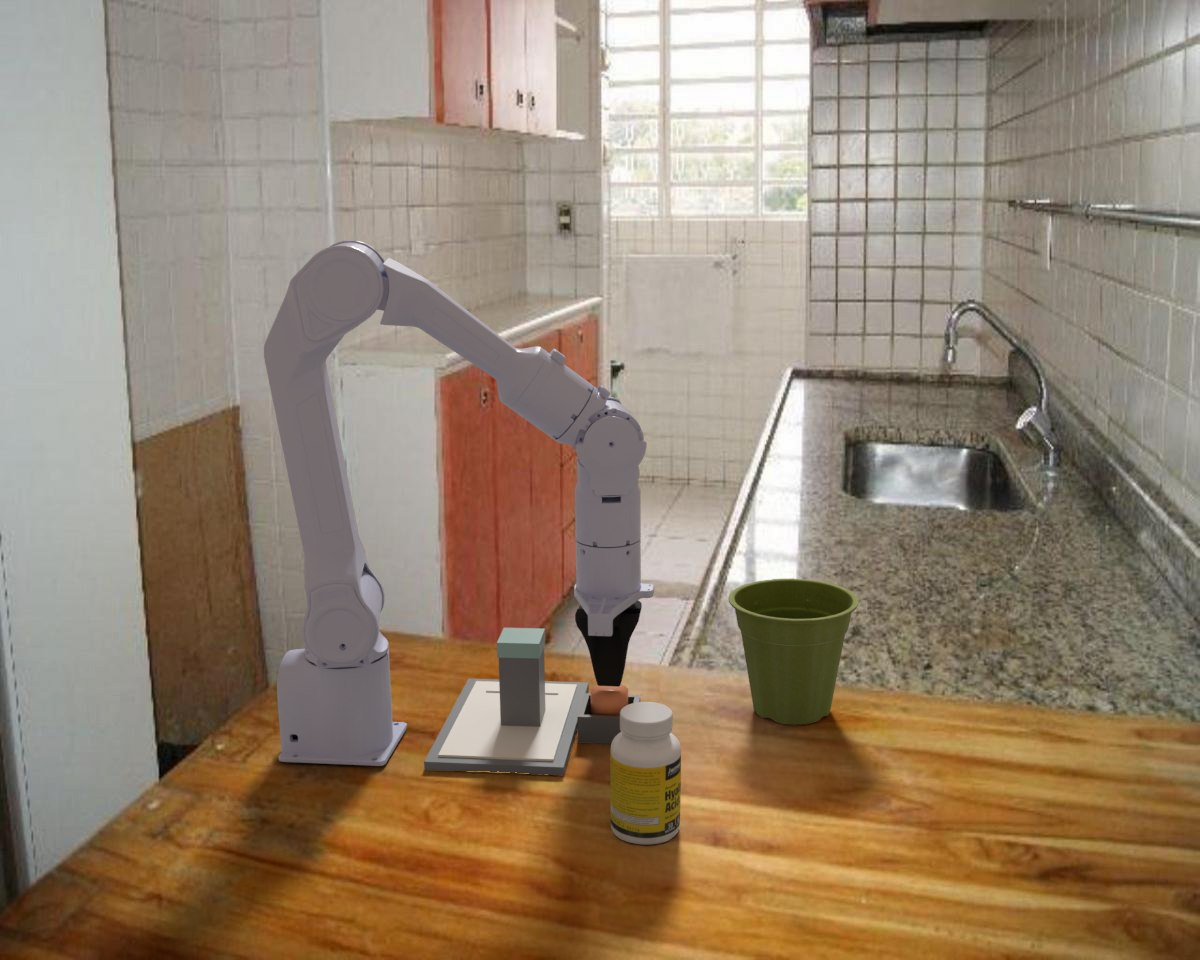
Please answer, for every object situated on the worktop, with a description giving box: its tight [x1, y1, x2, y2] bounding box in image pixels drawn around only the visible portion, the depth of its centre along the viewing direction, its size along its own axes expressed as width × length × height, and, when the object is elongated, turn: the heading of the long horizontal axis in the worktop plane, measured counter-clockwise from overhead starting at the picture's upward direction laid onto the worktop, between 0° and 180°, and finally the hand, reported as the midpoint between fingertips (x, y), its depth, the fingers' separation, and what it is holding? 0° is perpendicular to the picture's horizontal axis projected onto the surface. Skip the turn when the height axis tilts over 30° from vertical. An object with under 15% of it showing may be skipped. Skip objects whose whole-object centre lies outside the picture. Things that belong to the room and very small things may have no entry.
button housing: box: [577, 692, 641, 745], centre depth 112 cm, size 5×5×2 cm
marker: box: [496, 627, 546, 727], centre depth 112 cm, size 4×4×8 cm
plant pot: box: [728, 578, 860, 726], centre depth 115 cm, size 12×12×11 cm
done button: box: [590, 683, 629, 716], centre depth 111 cm, size 3×3×2 cm
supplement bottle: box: [609, 701, 682, 846], centre depth 94 cm, size 5×5×10 cm
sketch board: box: [423, 678, 589, 777], centre depth 113 cm, size 12×18×1 cm, turn 174°
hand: (609, 683), depth 111 cm, fingers closed
